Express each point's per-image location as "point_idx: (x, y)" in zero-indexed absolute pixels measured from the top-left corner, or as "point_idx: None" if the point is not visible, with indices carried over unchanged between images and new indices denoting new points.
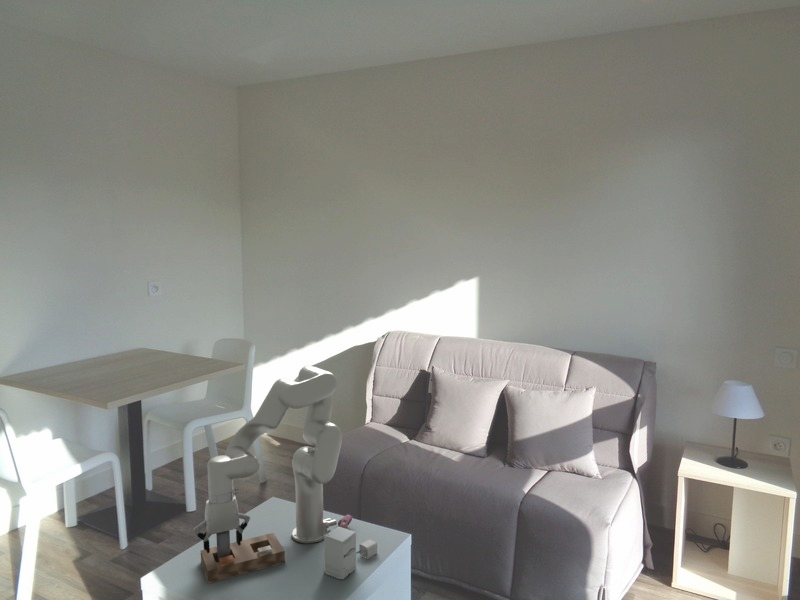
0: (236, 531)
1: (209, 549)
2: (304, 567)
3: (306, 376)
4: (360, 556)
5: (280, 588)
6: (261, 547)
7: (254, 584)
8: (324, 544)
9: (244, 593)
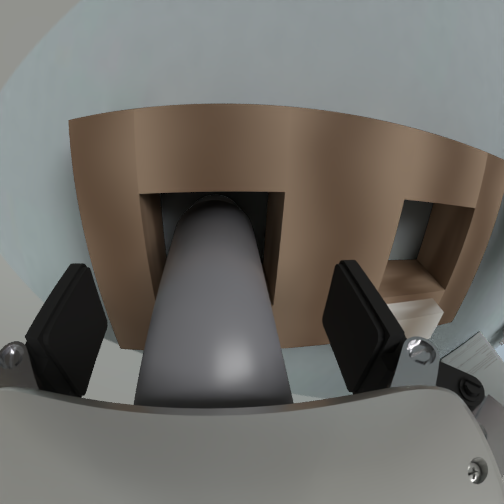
0: (371, 354)
1: (101, 342)
2: (438, 329)
3: None
4: (500, 342)
5: (341, 387)
6: (413, 318)
7: (292, 363)
8: None
9: None
